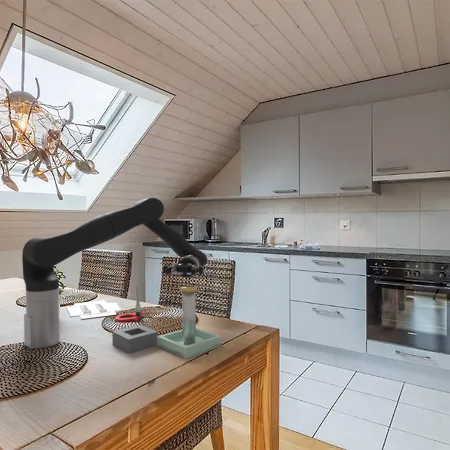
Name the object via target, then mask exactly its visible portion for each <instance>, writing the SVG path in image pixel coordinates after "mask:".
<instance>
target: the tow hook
mask: <svg viewBox="0 0 450 450" xmlns="http://www.w3.org/2000/svg"><path fill="white" fill-rule="evenodd" d="M135 300H136V301H135V312H134V313H133V312H132V313H131V312H129V313H123V314H119V315H118V314H117V315H116V316H115V317H114V320H115V322H120V323H122V322H132V321H134V322H138V321H139V320H141V318H142V317H143V316H144V313H143V312H142V310H141V303H140V289H139V283H138V282H136V283H135ZM127 317H128V318H127Z"/></svg>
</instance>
